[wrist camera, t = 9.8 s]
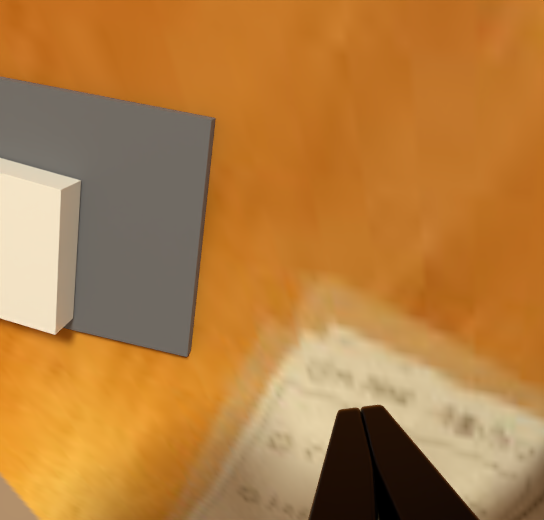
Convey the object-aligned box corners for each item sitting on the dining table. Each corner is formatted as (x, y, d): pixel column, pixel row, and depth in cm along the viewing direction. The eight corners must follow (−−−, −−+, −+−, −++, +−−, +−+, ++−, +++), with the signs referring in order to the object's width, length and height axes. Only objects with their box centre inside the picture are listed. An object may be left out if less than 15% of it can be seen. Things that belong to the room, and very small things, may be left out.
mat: (215, 118, 20) (211, 119, 19) (190, 350, 25) (187, 357, 24) (-109, 55, 21) (-122, 55, 21) (-71, 289, 26) (-80, 294, 26)
